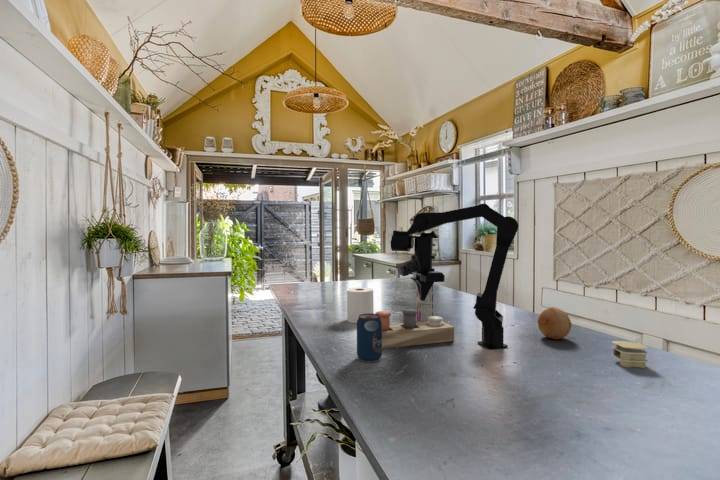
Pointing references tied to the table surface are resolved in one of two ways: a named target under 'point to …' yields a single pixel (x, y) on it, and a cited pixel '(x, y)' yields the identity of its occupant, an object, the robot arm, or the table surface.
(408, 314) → the grey rounded piece
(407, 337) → the socket block
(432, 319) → the white plug
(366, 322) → the soda can
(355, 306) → the toilet paper
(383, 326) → the salmon plug
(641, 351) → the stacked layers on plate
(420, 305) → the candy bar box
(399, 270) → the robot arm
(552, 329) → the onion
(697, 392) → the table surface
